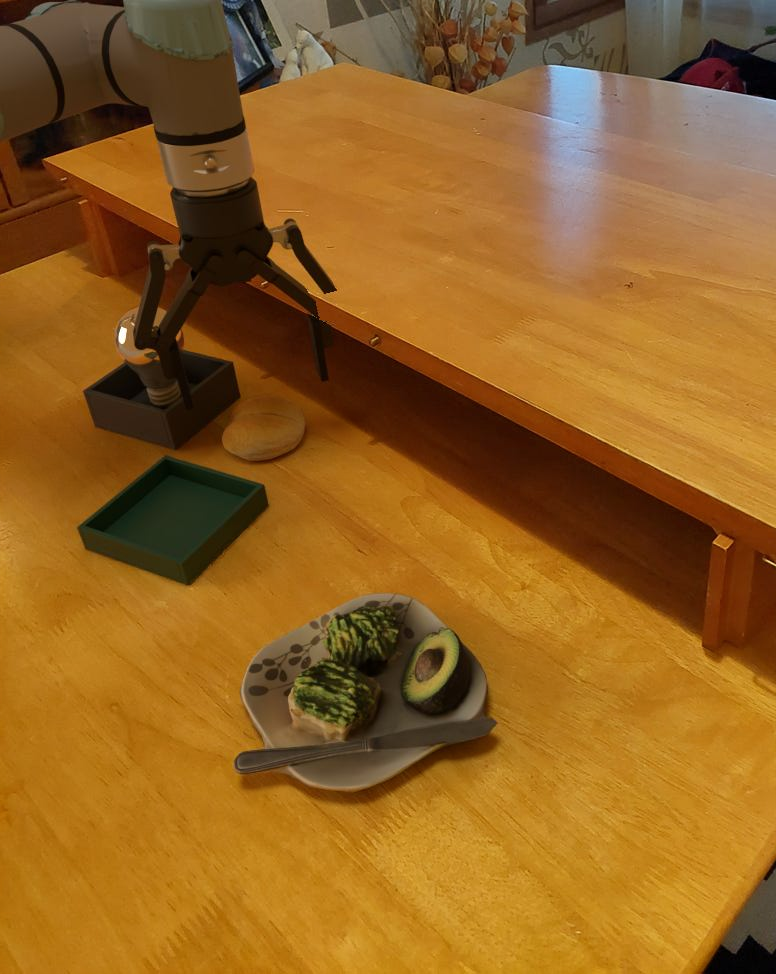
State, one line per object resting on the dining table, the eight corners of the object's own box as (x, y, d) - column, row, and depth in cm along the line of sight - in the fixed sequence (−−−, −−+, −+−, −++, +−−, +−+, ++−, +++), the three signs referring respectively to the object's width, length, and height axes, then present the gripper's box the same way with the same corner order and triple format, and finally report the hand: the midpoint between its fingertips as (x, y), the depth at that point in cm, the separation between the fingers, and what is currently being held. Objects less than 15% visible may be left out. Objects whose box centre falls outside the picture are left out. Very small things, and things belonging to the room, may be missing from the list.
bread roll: (217, 465, 95) (209, 433, 92) (238, 416, 102) (231, 384, 99) (297, 464, 94) (291, 432, 92) (313, 415, 101) (307, 384, 99)
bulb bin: (94, 426, 101) (82, 390, 98) (163, 376, 109) (153, 342, 106) (175, 450, 97) (165, 413, 94) (241, 396, 105) (233, 361, 102)
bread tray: (84, 548, 85) (76, 527, 83) (171, 475, 93) (165, 454, 92) (188, 585, 81) (181, 563, 79) (269, 505, 89) (264, 484, 88)
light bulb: (196, 384, 106) (172, 288, 98) (203, 416, 101) (178, 317, 93) (133, 397, 104) (103, 300, 97) (137, 430, 99) (106, 330, 91)
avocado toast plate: (289, 871, 60) (278, 831, 57) (187, 693, 71) (173, 653, 68) (528, 725, 68) (528, 684, 65) (402, 588, 80) (397, 548, 77)
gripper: (62, 220, 75) (132, 434, 88) (361, 174, 81) (384, 381, 94) (62, 189, 81) (128, 395, 94) (341, 148, 87) (366, 347, 100)
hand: (256, 388), depth 94 cm, fingers open, 13 cm apart
